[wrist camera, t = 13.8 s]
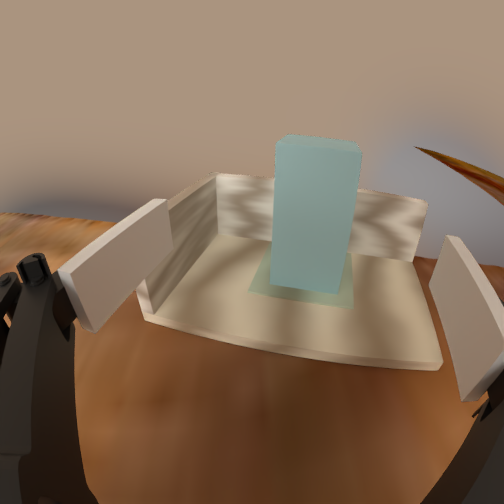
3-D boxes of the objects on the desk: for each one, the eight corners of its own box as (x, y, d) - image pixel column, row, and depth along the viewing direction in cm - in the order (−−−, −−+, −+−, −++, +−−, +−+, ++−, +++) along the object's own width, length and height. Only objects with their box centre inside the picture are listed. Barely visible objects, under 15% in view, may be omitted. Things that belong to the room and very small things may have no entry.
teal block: (338, 258, 28) (355, 141, 22) (337, 294, 23) (362, 153, 17) (281, 250, 30) (288, 134, 24) (269, 284, 25) (275, 142, 19)
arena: (407, 262, 30) (424, 199, 26) (437, 370, 17) (486, 288, 13) (213, 234, 35) (211, 172, 31) (144, 320, 22) (122, 234, 18)
